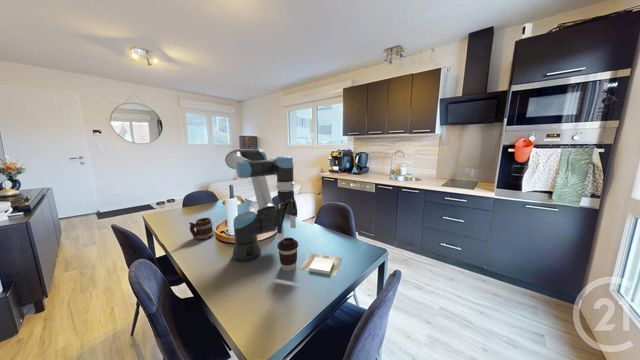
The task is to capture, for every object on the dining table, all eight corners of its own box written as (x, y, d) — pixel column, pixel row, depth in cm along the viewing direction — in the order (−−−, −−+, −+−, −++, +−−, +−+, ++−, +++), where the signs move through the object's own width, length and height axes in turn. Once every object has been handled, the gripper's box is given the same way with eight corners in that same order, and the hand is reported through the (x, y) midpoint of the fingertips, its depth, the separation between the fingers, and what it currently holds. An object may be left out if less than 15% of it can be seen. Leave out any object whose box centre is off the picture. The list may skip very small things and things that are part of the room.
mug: (219, 234, 148) (214, 214, 143) (200, 246, 136) (193, 225, 132) (209, 230, 154) (203, 211, 149) (189, 242, 142) (182, 222, 137)
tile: (315, 260, 112) (308, 271, 103) (315, 256, 112) (308, 267, 103) (334, 263, 110) (329, 275, 100) (334, 259, 109) (329, 271, 100)
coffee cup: (295, 275, 102) (294, 246, 99) (275, 273, 104) (273, 244, 101) (301, 264, 111) (300, 236, 109) (282, 262, 113) (281, 235, 111)
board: (299, 271, 105) (299, 269, 105) (310, 255, 120) (310, 253, 120) (335, 278, 100) (335, 275, 99) (342, 260, 115) (342, 258, 114)
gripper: (280, 197, 88) (282, 246, 91) (303, 185, 111) (304, 224, 115) (264, 195, 90) (266, 243, 94) (289, 184, 113) (291, 223, 117)
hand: (287, 233), depth 104 cm, fingers open, 13 cm apart
